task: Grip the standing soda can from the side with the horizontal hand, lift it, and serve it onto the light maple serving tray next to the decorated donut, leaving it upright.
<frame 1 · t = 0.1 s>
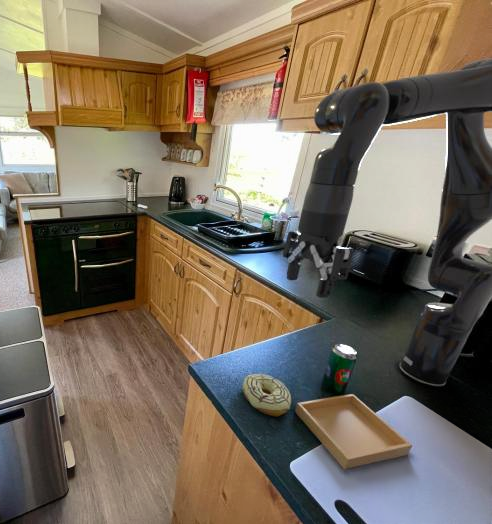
hand: (305, 287, 59), 29 cm above the countertop, tool pointing down, fingers open, 8 cm apart
serving tray: (347, 431, 61), on the countertop
decorated donut: (264, 400, 69), on the countertop
soda can: (332, 389, 73), on the countertop
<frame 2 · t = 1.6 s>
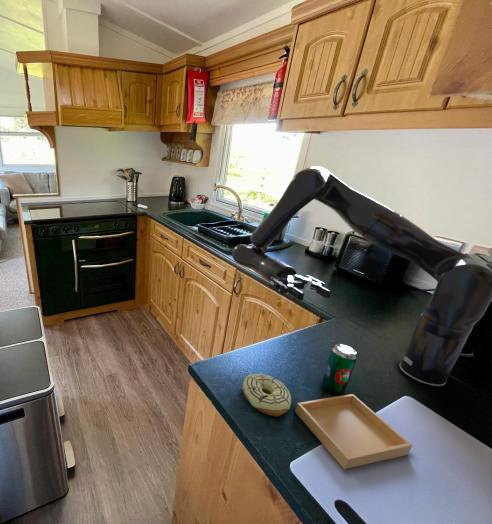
hand: (316, 296, 76), 20 cm above the countertop, tool horizontal, fingers open, 8 cm apart
nothing on the countertop moved.
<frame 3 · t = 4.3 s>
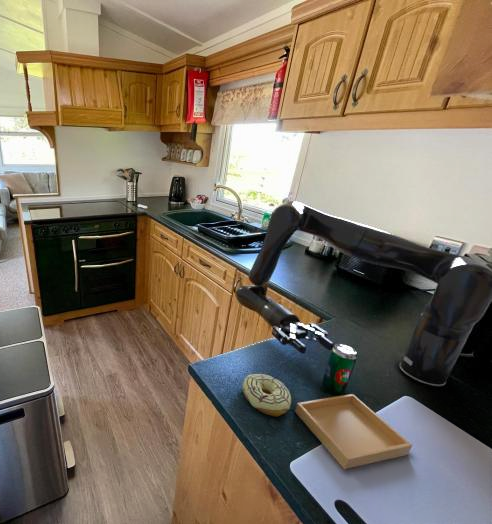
hand: (318, 349, 77), 7 cm above the countertop, tool horizontal, fingers open, 8 cm apart
nothing on the countertop moved.
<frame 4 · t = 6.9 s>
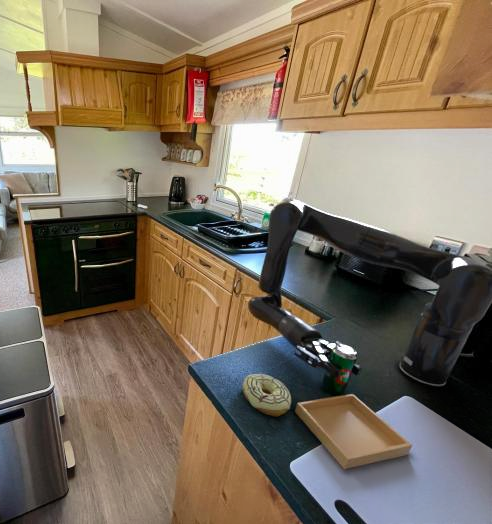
hand: (349, 373, 68), 7 cm above the countertop, tool horizontal, fingers closed on soda can, 5 cm apart
soda can: (332, 389, 73), on the countertop, touching gripper
everything else where it was.
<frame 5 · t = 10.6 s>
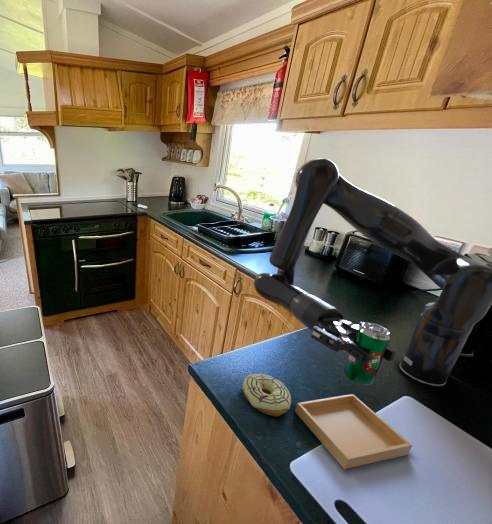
hand: (380, 358, 55), 19 cm above the countertop, tool horizontal, fingers closed on soda can, 5 cm apart
soda can: (357, 378, 60), point 11 cm above the countertop, touching gripper
everything else where it was.
when the fingers open (8 cm above the countertop, at t = 14.4 s): soda can stays where it is, resting on serving tray.
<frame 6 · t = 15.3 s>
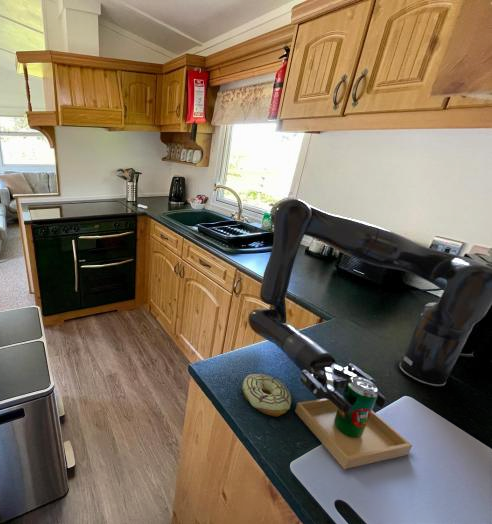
hand: (367, 407, 57), 9 cm above the countertop, tool horizontal, fingers open, 8 cm apart
soda can: (346, 429, 61), resting on serving tray
everything else where it was.
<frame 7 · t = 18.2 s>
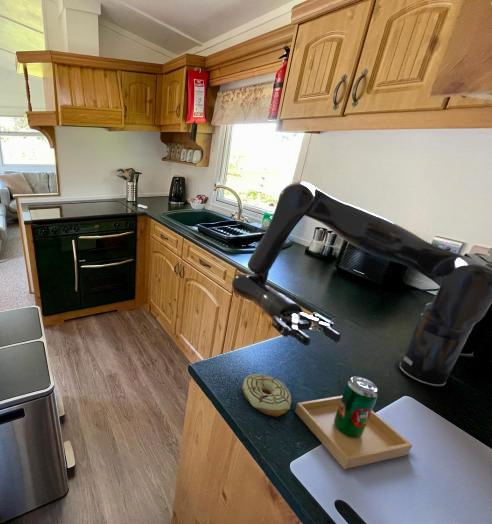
hand: (323, 340, 68), 14 cm above the countertop, tool horizontal, fingers open, 8 cm apart
nothing on the countertop moved.
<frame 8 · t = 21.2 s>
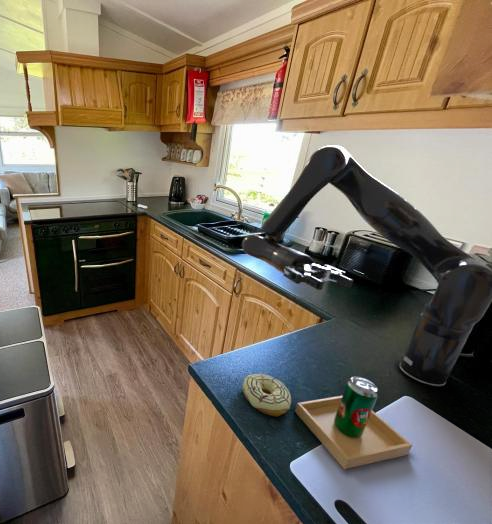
hand: (336, 285, 69), 26 cm above the countertop, tool horizontal, fingers open, 8 cm apart
nothing on the countertop moved.
at the end: soda can inside the target area in the serving tray (0.2 cm from its centre), point 0.4 cm above the serving tray's base; soda can tilted 0°; the gripper is holding nothing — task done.
